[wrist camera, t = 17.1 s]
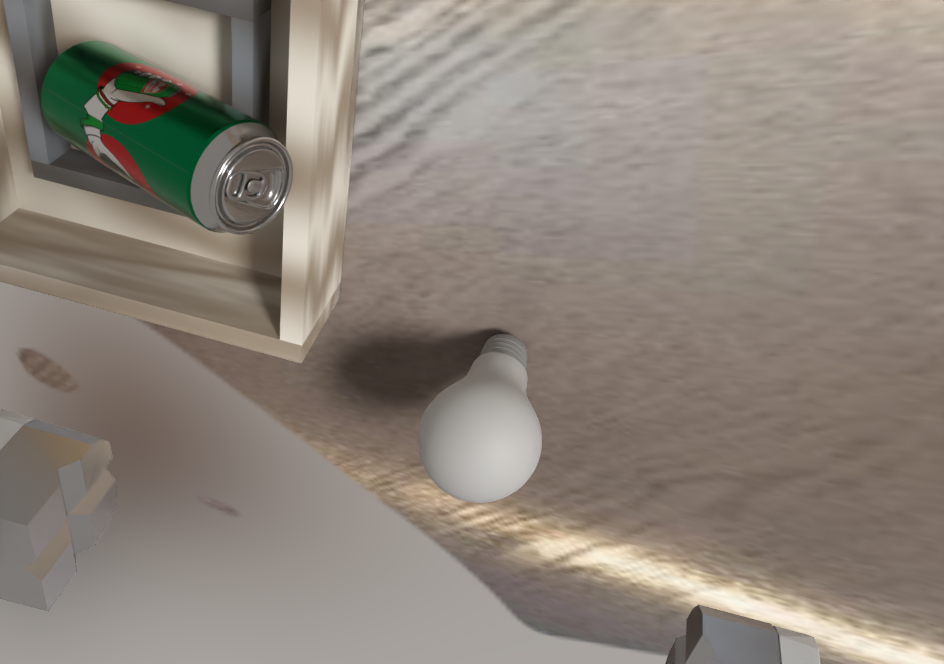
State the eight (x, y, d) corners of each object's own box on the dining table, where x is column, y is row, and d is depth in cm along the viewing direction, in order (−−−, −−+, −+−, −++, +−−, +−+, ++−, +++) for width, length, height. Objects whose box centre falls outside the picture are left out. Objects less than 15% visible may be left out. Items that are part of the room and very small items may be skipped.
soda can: (119, 146, 44) (281, 243, 39) (23, 135, 40) (191, 243, 35) (142, 47, 43) (314, 135, 37) (45, 25, 38) (224, 122, 33)
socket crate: (-71, -224, 37) (-183, -210, 33) (374, -121, 36) (325, -91, 31) (13, 212, 51) (-56, 266, 46) (339, 298, 50) (301, 363, 45)
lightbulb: (557, 298, 47) (524, 439, 38) (566, 386, 50) (537, 533, 42) (448, 298, 48) (392, 433, 40) (463, 383, 52) (415, 524, 43)
